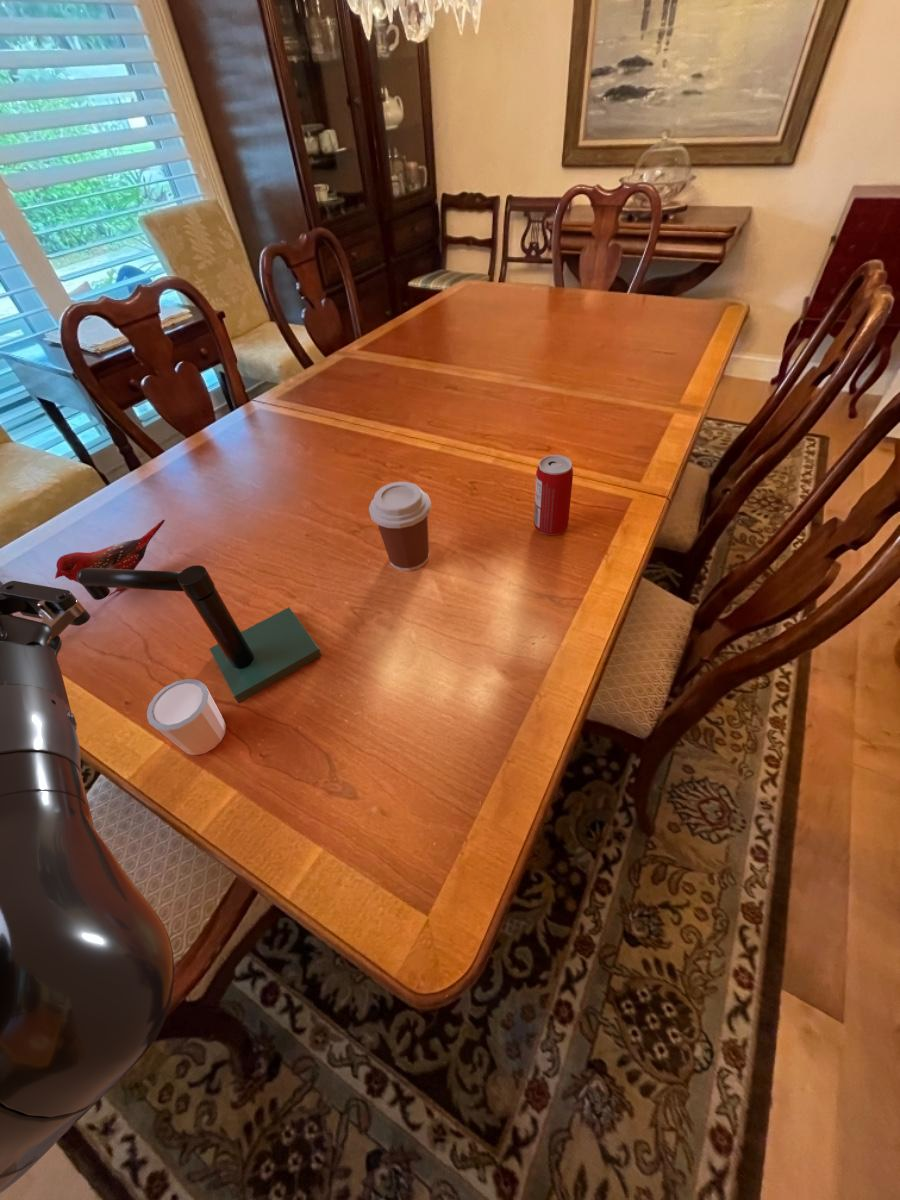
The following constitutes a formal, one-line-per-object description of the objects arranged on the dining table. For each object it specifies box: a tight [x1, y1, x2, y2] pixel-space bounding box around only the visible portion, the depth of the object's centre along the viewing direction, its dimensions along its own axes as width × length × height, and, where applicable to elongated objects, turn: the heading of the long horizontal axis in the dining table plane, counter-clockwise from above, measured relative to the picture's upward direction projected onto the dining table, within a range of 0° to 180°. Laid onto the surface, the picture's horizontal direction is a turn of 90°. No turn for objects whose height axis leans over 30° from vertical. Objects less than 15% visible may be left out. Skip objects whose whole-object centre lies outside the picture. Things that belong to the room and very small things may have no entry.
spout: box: [77, 564, 216, 601], centre depth 62 cm, size 17×3×4 cm, turn 82°
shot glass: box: [146, 678, 227, 756], centre depth 63 cm, size 7×7×7 cm
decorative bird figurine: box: [54, 519, 166, 597], centre depth 83 cm, size 3×18×10 cm, turn 146°
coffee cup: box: [368, 481, 432, 572], centre depth 81 cm, size 9×9×12 cm
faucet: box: [189, 586, 323, 704], centre depth 68 cm, size 12×10×15 cm
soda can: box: [533, 454, 574, 536], centre depth 83 cm, size 6×6×12 cm
